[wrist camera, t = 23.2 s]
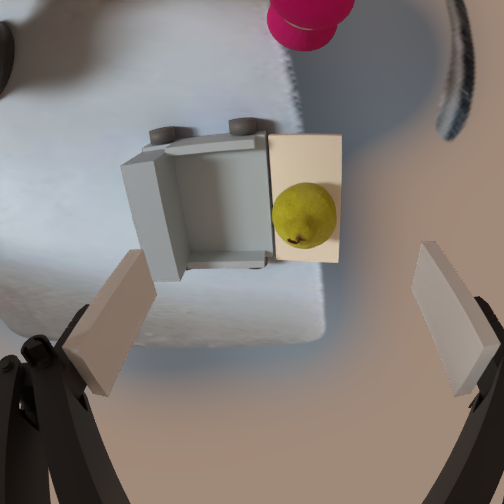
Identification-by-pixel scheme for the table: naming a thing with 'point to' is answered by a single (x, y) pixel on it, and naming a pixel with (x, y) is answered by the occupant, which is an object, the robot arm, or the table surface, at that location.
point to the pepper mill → (306, 21)
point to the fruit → (304, 215)
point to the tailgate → (312, 171)
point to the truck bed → (202, 200)
